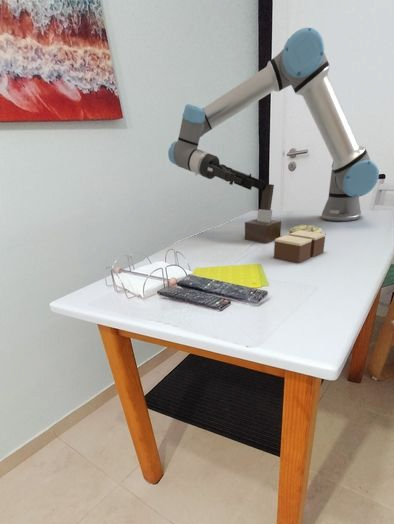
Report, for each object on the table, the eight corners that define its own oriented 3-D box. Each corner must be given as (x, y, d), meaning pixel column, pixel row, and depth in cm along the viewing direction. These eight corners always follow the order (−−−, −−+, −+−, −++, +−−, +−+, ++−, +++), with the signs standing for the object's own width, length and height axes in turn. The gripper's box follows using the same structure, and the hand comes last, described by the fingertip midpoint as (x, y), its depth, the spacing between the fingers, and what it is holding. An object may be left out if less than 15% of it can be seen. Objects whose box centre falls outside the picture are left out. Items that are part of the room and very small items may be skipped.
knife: (256, 238, 125) (263, 184, 118) (269, 240, 121) (277, 184, 114) (253, 238, 124) (260, 184, 117) (266, 240, 120) (274, 184, 113)
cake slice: (284, 253, 106) (286, 234, 103) (309, 258, 100) (311, 239, 97) (273, 257, 103) (274, 239, 100) (298, 263, 97) (300, 243, 94)
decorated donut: (314, 243, 113) (316, 231, 111) (284, 240, 119) (285, 229, 117) (324, 235, 120) (326, 224, 118) (295, 233, 126) (296, 222, 124)
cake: (298, 248, 110) (300, 230, 107) (323, 252, 104) (325, 233, 101) (288, 252, 107) (289, 233, 104) (312, 257, 101) (315, 237, 98)
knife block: (259, 234, 128) (259, 218, 125) (280, 238, 122) (281, 220, 118) (244, 239, 124) (244, 222, 121) (266, 243, 117) (266, 225, 114)
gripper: (217, 177, 131) (267, 197, 122) (184, 174, 115) (238, 197, 106) (223, 156, 126) (275, 175, 118) (190, 149, 111) (247, 171, 102)
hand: (258, 185), depth 112 cm, fingers open, 8 cm apart
